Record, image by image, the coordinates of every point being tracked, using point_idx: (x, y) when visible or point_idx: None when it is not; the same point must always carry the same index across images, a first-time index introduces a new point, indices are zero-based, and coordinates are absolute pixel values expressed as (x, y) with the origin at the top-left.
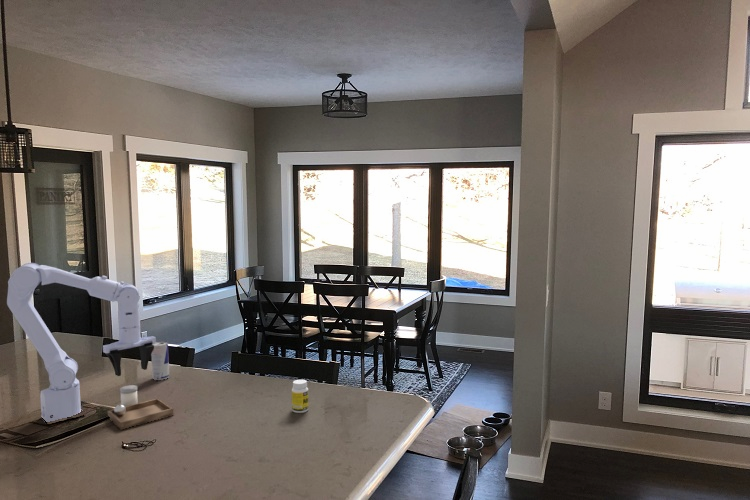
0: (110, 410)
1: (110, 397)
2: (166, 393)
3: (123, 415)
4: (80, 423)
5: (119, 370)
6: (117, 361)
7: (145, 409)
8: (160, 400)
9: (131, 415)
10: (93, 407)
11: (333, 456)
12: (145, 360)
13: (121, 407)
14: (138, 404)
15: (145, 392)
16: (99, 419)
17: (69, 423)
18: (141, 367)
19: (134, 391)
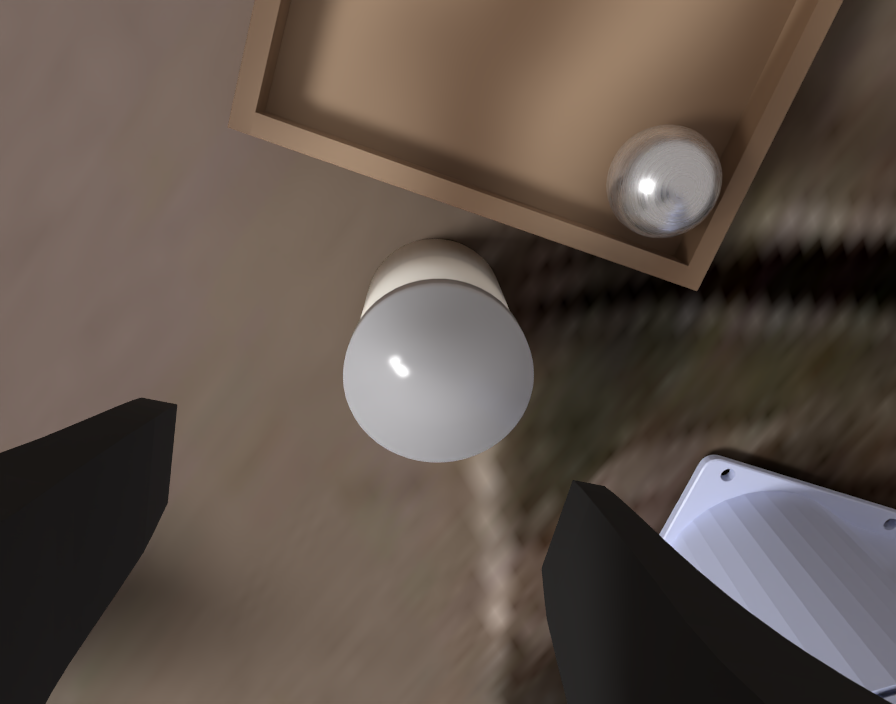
0: (676, 279)
1: (361, 609)
2: (20, 307)
3: None
4: (822, 368)
5: (630, 526)
6: (777, 657)
7: (437, 75)
8: (254, 39)
9: (609, 68)
10: None
11: None
12: (82, 477)
13: (692, 144)
14: (444, 179)
15: None
16: (716, 310)
17: (842, 435)
18: (162, 512)
19: (433, 279)
